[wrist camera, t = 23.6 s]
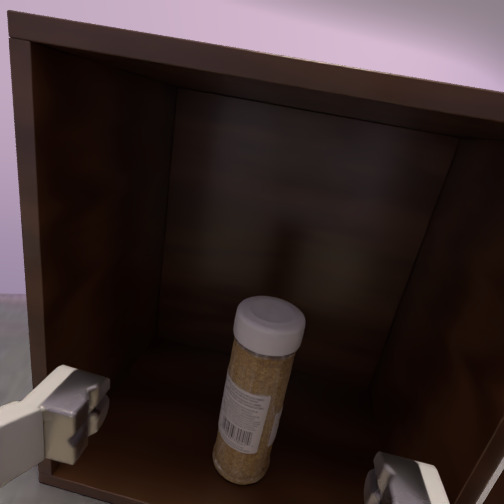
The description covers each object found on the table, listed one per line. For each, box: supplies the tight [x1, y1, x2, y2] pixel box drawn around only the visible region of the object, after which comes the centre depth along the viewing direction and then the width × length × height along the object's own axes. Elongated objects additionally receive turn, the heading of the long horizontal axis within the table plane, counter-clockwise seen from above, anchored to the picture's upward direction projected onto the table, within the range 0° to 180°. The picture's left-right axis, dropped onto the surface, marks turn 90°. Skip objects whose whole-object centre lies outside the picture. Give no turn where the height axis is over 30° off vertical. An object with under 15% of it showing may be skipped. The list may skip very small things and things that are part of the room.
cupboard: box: [7, 10, 504, 504], centre depth 26 cm, size 18×26×28 cm
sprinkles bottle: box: [212, 296, 306, 485], centre depth 25 cm, size 5×5×14 cm
